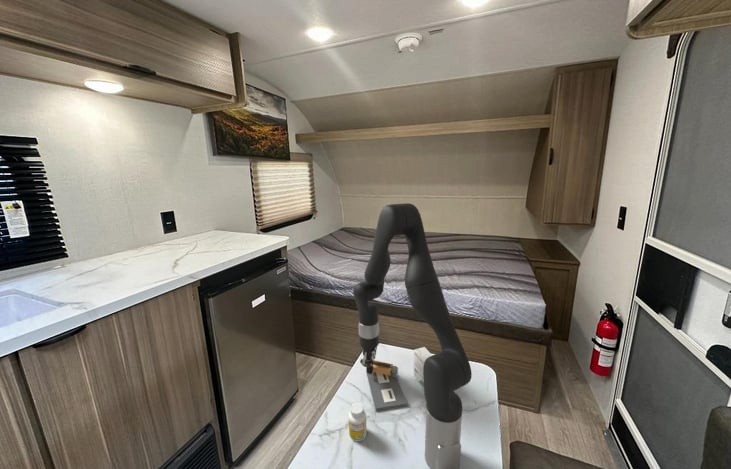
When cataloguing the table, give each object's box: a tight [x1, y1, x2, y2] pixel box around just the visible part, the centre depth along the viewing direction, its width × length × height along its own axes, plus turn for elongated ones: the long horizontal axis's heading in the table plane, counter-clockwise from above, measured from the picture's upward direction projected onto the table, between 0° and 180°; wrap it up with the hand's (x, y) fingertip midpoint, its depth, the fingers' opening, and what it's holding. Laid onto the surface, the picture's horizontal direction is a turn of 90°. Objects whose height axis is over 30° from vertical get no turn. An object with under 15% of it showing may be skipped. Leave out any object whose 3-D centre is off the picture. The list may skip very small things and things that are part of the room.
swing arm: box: [373, 359, 399, 376], centre depth 111 cm, size 4×11×3 cm, turn 70°
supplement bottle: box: [347, 402, 368, 442], centre depth 87 cm, size 5×5×10 cm
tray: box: [366, 372, 408, 412], centre depth 106 cm, size 18×11×3 cm, turn 10°
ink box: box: [413, 346, 433, 389], centre depth 108 cm, size 8×5×12 cm, turn 21°
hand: (369, 372), depth 109 cm, fingers closed
